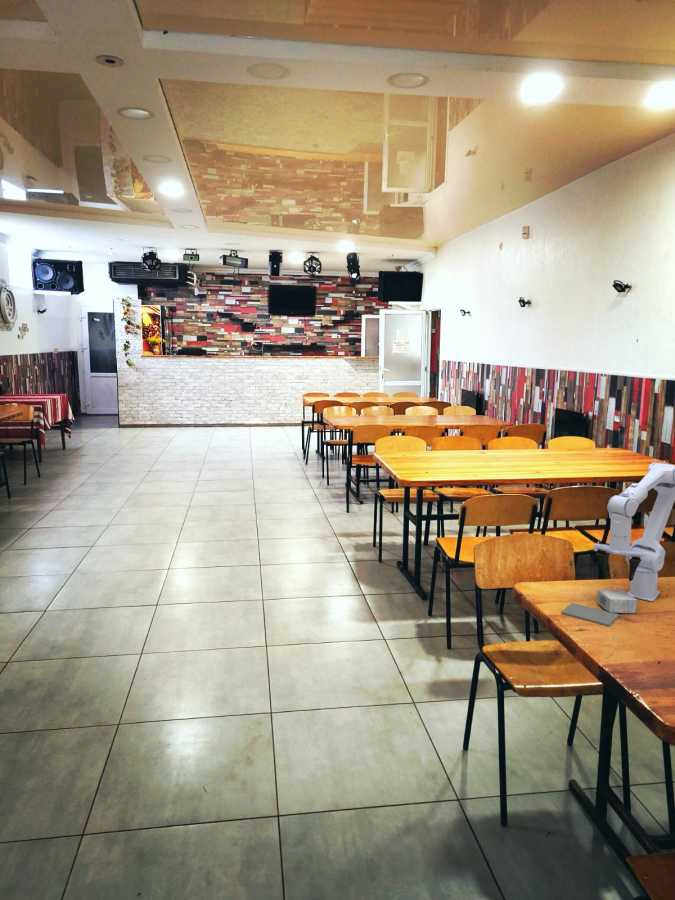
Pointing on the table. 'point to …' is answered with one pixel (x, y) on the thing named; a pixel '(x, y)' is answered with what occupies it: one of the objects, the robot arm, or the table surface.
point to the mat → (590, 614)
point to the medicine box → (617, 601)
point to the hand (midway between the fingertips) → (617, 577)
